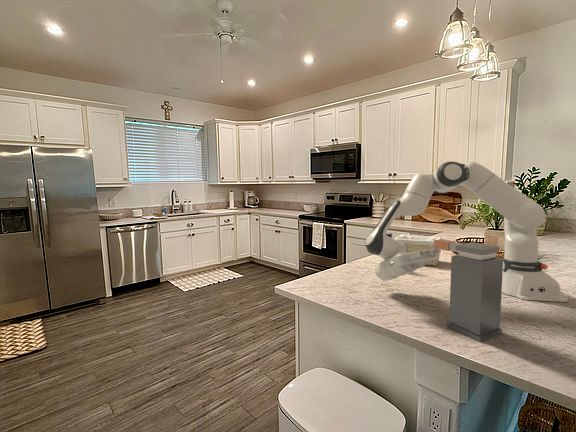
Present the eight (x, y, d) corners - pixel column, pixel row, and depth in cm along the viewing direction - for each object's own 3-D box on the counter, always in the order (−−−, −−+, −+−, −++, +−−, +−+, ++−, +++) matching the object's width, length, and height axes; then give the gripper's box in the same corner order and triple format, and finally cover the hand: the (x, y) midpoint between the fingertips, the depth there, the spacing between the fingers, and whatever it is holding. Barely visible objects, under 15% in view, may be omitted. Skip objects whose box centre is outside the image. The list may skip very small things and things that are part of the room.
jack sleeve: (502, 333, 95) (506, 258, 92) (480, 342, 90) (483, 263, 87) (468, 319, 105) (470, 251, 102) (446, 326, 100) (449, 255, 97)
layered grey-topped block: (495, 320, 95) (499, 246, 92) (479, 326, 91) (482, 250, 89) (443, 300, 111) (445, 237, 109) (427, 305, 108) (429, 240, 105)
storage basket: (393, 262, 181) (393, 237, 180) (400, 256, 194) (400, 233, 193) (436, 267, 168) (437, 241, 166) (441, 261, 181) (442, 236, 179)
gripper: (382, 258, 118) (406, 246, 107) (419, 252, 127) (445, 240, 116) (387, 274, 116) (413, 263, 105) (425, 266, 125) (452, 255, 113)
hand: (430, 251), depth 110 cm, fingers open, 8 cm apart
